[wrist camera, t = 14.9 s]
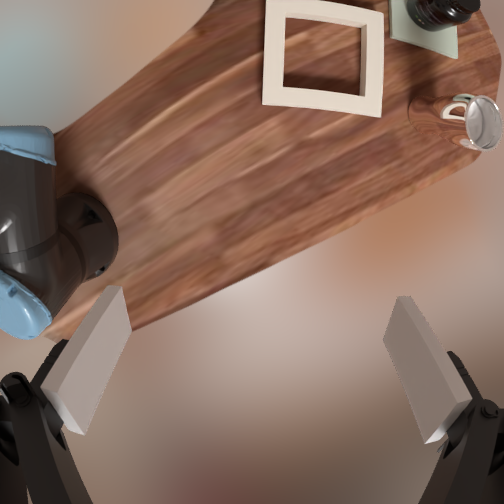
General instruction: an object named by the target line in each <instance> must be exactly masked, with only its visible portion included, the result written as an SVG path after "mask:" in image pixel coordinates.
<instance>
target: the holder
mask: <svg viewBox="0 0 504 504" xmlns="http://www.w3.org/2000/svg"><path fill="white" fill-rule="evenodd" d="M285 17H289V18H300V19H309V20H317V21H324V22H331V23H337V24H343V25H348V26H353V27H358V28H361V72H360V94H359V96H357V95H350V94H344V93H337V92H329V91H321V90H312V89H302V88H290V87H283V69H284V41H285ZM383 65H384V20H383V13H380V12H376V11H372V10H368V9H364V8H359V7H355V6H350V5H345V4H339V3H333V2H327V1H320V0H266V15H265V42H264V68H263V94H262V105H275V106H290V107H303V108H313V109H323V110H331V111H339V112H347V113H353V114H360V115H366V116H372V117H381V108H382V91H383Z"/></svg>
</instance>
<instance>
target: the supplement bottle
mask: <svg viewBox="0 0 504 504" xmlns="http://www.w3.org/2000/svg"><path fill="white" fill-rule="evenodd" d="M479 8H480V0H408V1H407V11H408V14H409V16H410V17H411V19H412V20H413V22H414V23H415V24H416V25H418V26H419V27H420V28H422V29H424V30H426V31H429V32H437V31H440V30H444V29H447V28H450V27H453V26H456V25H460V24H463V23H465V22H467V21H468V20H469V19H470V18H471V15H472V13H474V12H476V11H478V10H479Z"/></svg>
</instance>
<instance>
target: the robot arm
mask: <svg viewBox="0 0 504 504" xmlns="http://www.w3.org/2000/svg"><path fill="white" fill-rule="evenodd" d="M55 165H56V161H55V154H54V136H53V133H52V132H51V131H50V129H49V128H47V127H44V126H0V328H1V329H2V330H3V331H5V332H6V333H8V334H10V335H12V336H14V337H17V338H19V339H25V340H28V339H33V338H35V337H37V336H38V335H39V334H40V333H41V332H42V331H43V330H44V329H45V328H46V326H48V325H50V324H51V322H52V320H53V319H54V317H55V316H56V315H57V314H58V312H59V311H60V310H61V308H62V307H63V306H64V304H65V303H66V302H67V301H68V299H69V298H70V297H71V295H72V294H73V293H74V292H75V290H76V289H77V288H78V287H79V285H80V284H82V283H84V282H86V281H89V280H91V279H93V278H96V277H98V276H100V275H101V274H103V273H104V272H105V271H106V270H107V269H108V268H109V266H110V265H111V264H112V263H113V261H114V259H115V257H116V255H117V251H118V233H117V229H116V226H115V223H114V221H113V219H112V217H111V215H110V214H109V212H108V211H107V210H106V208H105V207H104V206H103V205H102V204H101V203H100V202H99V201H97V200H96V199H94V198H93V197H91V196H89V195H86V194H83V193H69V194H66V195H64V196H62V197H60V198H58V199H56V179H55ZM131 332H132V330H131V326H130V321H129V317H128V313H127V309H126V304H125V300H124V295H123V290H122V286H111V285H108V286H107V287H106V288H105V290H104V291H103V292H102V294H101V295H100V297H99V298H98V299H97V301H96V302H95V304H94V305H93V306H92V308H91V309H90V311H89V312H88V314H87V315H86V316H85V318H84V319H83V321H82V322H81V324H80V325H79V327H78V328H77V330H76V331H75V333H74V334H73V336H72V337H71V339H70V340H65V339H62V340H61V341H60V342H59V343H57V344H56V345H55V346H54V347H53V348H52V350H51V351H50V353H49V356H47V357H46V359H45V360H44V363H43V364H42V365H41V367H40V368H39V370H38V371H37V373H36V375H35V376H34V378H33V379H32V381H31V382H30V383H29V382H28V380H27V378H26V376H25V375H23V374H22V373H19V372H13V373H10V374H8V375H6V376H5V377H4V378H3V379H2V380H1V382H0V392H1V394H2V395H0V504H28V497H27V488H28V491H29V494H30V497H31V500H32V503H33V504H93V503H92V501H91V498H90V497H89V495H88V492H87V490H86V488H85V486H84V484H83V481H82V480H81V477H80V475H79V472H78V470H77V468H76V465H75V463H74V460H73V458H72V455H71V453H70V451H69V448H68V445H67V442H66V439H65V436H64V433H63V432H62V430H61V428H62V425H63V423H64V424H65V425H66V426H67V428H68V429H69V430H70V431H72V432H75V433H79V434H82V435H86V432H87V430H88V427H89V425H90V422H91V420H92V417H93V415H94V413H95V410H96V408H97V406H98V403H99V401H100V399H101V396H102V394H103V392H104V390H105V387H106V385H107V383H108V381H109V378H110V376H111V374H112V372H113V370H114V367H115V365H116V363H117V361H118V359H119V357H120V355H121V353H122V350H123V348H124V346H125V344H126V342H127V340H128V338H129V336H130V334H131ZM383 341H384V343H385V346H386V348H387V350H388V352H389V355H390V357H391V359H392V362H393V364H394V366H395V369H396V371H397V373H398V376H399V378H400V380H401V383H402V385H403V388H404V390H405V393H406V395H407V398H408V400H409V403H410V406H411V408H412V411H413V414H414V416H415V419H416V421H417V424H418V427H419V430H420V432H421V435H422V438H423V441H424V443H425V444H426V443H429V442H433V441H437V440H440V439H441V437H442V436H443V435H444V434H445V433H446V432H447V434H448V437H449V438H448V439H447V440H446V441H445V442H444V443H443V444H442V446H441V447H440V448H439V449H438V451H437V452H440V451H441V450H442V449H443V450H442V453H441V455H440V457H439V460H438V462H437V465H436V467H435V470H434V472H433V474H432V476H431V479H430V481H429V483H428V485H427V487H426V489H425V491H424V493H423V495H422V498H421V499H420V501H419V503H418V504H504V409H499V408H498V406H497V405H496V404H495V403H494V402H492V401H491V400H487V399H483V398H482V397H481V394H480V393H479V391H478V389H477V387H476V386H475V384H474V382H473V380H472V378H471V377H470V375H468V372H467V370H466V369H465V368H464V365H463V363H462V362H461V360H460V358H459V357H457V356H456V355H455V354H454V353H453V352H452V351H448V352H446V351H445V349H444V347H443V346H442V344H441V342H440V341H439V339H438V338H437V336H436V335H435V333H434V331H433V330H432V328H431V327H430V325H429V323H428V322H427V321H426V319H425V317H424V316H423V314H422V313H421V311H420V310H419V308H418V307H417V305H416V304H415V302H414V301H413V299H412V298H411V296H407V297H406V296H401V297H397V300H396V303H395V306H394V309H393V312H392V315H391V318H390V321H389V324H388V327H387V330H386V333H385V335H384V338H383ZM26 485H27V486H26Z"/></svg>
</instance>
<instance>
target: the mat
mask: <svg viewBox="0 0 504 504" xmlns="http://www.w3.org/2000/svg"><path fill="white" fill-rule="evenodd" d="M407 1H408V0H389V21H390V38H392V39H396V40H400V41H403V42H407V43H410V44H413V45H416V46H420V47H423V48H426V49H429V50H432V51H434V52H437V53H440V54H443V55H445V56H448V57H451V58H453V59H458V45H457V26H453V27H450V28H447V29H444V30H440V31H437V32H429V31H426V30H424V29H422V28H420V27H419V26H418V25H416V24H415V23H414V22H413V20H412V19H411V17H410V16H409V14H408V11H407Z"/></svg>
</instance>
